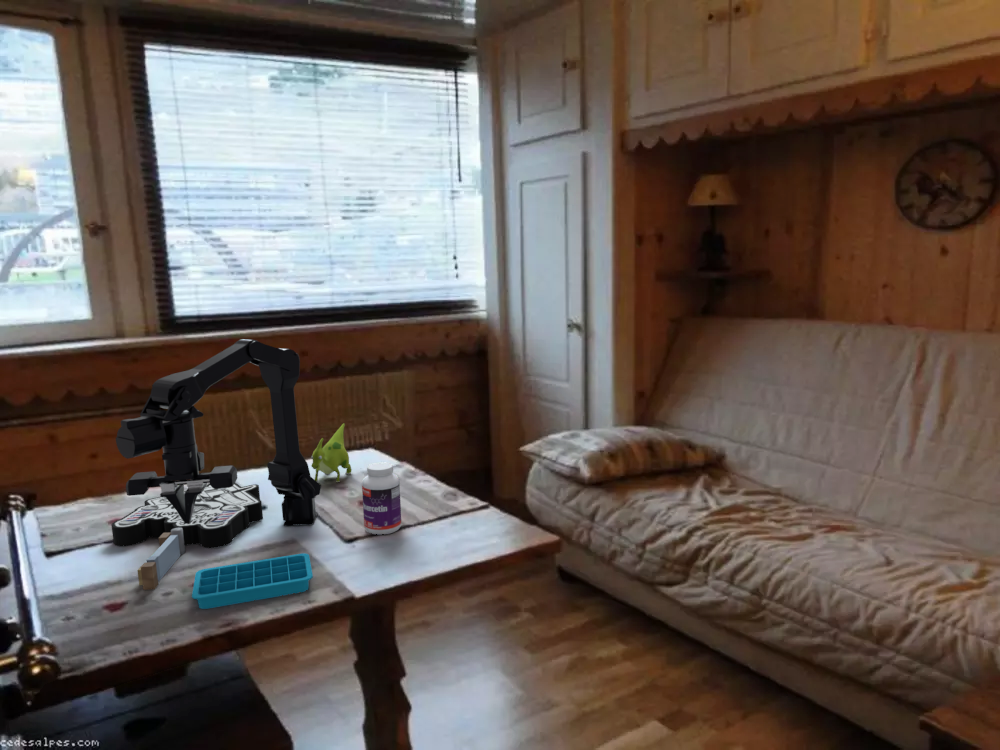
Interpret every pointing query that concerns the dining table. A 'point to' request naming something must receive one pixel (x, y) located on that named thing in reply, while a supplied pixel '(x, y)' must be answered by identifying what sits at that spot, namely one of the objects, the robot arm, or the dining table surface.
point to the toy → (331, 456)
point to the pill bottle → (381, 499)
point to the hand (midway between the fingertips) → (187, 522)
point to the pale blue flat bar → (168, 552)
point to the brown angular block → (164, 538)
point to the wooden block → (148, 576)
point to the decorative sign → (194, 518)
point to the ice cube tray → (252, 580)
